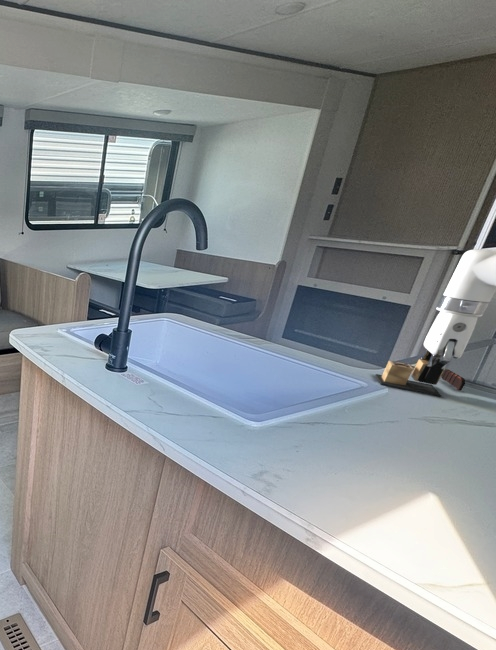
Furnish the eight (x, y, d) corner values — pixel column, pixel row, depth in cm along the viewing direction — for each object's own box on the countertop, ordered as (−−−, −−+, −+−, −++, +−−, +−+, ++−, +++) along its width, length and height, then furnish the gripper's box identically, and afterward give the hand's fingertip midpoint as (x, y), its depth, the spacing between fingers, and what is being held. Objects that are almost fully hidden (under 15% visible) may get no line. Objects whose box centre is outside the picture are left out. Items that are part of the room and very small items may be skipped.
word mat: (431, 386, 107) (432, 384, 107) (440, 396, 101) (441, 395, 101) (375, 375, 113) (376, 373, 112) (380, 384, 106) (381, 383, 106)
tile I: (431, 379, 105) (441, 362, 103) (436, 384, 102) (446, 366, 100) (410, 375, 107) (419, 358, 105) (414, 380, 104) (423, 362, 102)
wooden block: (401, 380, 109) (409, 363, 107) (405, 385, 105) (413, 368, 104) (381, 376, 111) (389, 359, 109) (384, 381, 107) (392, 364, 106)
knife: (421, 368, 120) (426, 358, 119) (426, 368, 119) (431, 358, 118) (457, 390, 105) (463, 379, 104) (462, 391, 105) (468, 380, 104)
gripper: (499, 316, 89) (455, 395, 96) (471, 303, 102) (434, 373, 109) (450, 310, 93) (411, 386, 100) (429, 297, 106) (396, 366, 113)
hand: (424, 378), depth 105 cm, fingers closed on tile I, 4 cm apart
